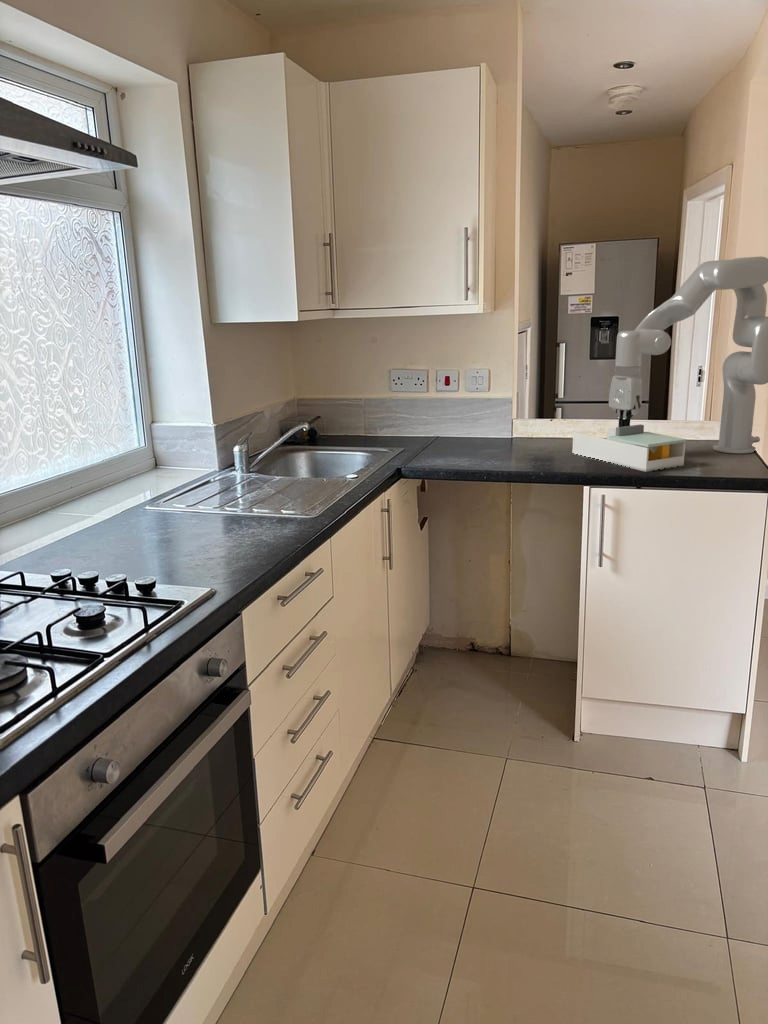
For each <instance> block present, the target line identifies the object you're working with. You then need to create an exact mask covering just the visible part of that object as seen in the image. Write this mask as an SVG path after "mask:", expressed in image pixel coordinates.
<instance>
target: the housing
mask: <svg viewBox="0 0 768 1024" xmlns="http://www.w3.org/2000/svg"><path fill="white" fill-rule="evenodd" d="M609 436H616V428H611V427H607V435H606V438H604V437H600V436H599V437H598V436H594V435H590V434H584V433H581V432H580V433H579V432H575V431H573V432H572V450H571V451H572V453H574V454H573V455H576V454H578V455H577V456H580V455H582V456H581V457H584V456H586V457H585V458H588V457H591V458H590V459H592V458H595V459H594V460H596V459H599V460H598V461H600V460H603V461H602V462H604V461H606V462H605V463H608V462H611V463H610V464H613V463H614V464H613V465H617V464H618V465H617V466H621V465H622V466H621V467H625V466H626V467H625V468H629V467H630V468H629V469H634V470H637V471H641V472H645V473H647V472H653V470H654V471H659V470H658V469H660V470H665V469H664V468H666V469H672V468H671V467H673V468H678V467H677V466H679V467H684V465H685V454H686V442H682V443H675V444H670V448H669V458H664V459H657V460H650V461H648V455H649V449H650V451H651V452H653V453H654V452H655V451H656V450H657V447H658V446H653V447H648V448H647V447H642V446H638V445H635V444H631V443H626V442H621V441H616V440H612V439H609ZM572 453H571V454H572Z"/></svg>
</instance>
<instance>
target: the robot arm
mask: <svg viewBox="0 0 768 1024" xmlns="http://www.w3.org/2000/svg"><path fill="white" fill-rule="evenodd" d="M767 283H768V258H767V257H765V256H761V255H760V256H750V257H749V256H748V257H738V258H737V257H736V258H734V259H720V260H719V259H718V260H708V261H705V262H702V263H701V264H700V265H698V267H696V268H695V270H694V271H692V273H691V274H690V276H688V278H687V279H686V280H685V281H684V282H683V283H682V284H681V286H680V287H679V289H678V290H677V291H675V293H674V294H673V295H672V296H671V297H670V298H669V299H667V300H665V301H664V302H663V303H662V304H660V305H659V306H658V307H656V308H655V309H653V310H652V311H651V312H650V313H648V314H647V315H646V316H645V317H644V318H643V319H642V321H640V323H639V324H638V326H637V327H636V328H635V329H634V330H621V331H619V332H618V333H617V336H616V345H615V346H616V347H615V362H614V363H615V364H614V365H615V367H614V375H613V376H612V378H611V383H610V386H609V393H608V406H609V408H611V411H613V412H614V413H616V416H617V419H618V427H624V426H631V420H632V419H633V416H635V415H639V414H640V409H641V408H642V402H643V401H642V400H643V398H642V397H643V386H642V385H643V384H642V378H641V370H642V358H643V357H642V355H651V356H658V355H663V354H665V353H666V352H667V351H668V350H669V349H670V348H671V347H670V346H671V344H672V339H671V336H670V335H669V333H668V332H666V331H665V330H666V329H667V328H669V327H670V326H672V325H674V324H676V323H679V322H681V321H685V320H686V319H689V318H690V317H692V316H694V315H695V314H696V313H697V311H699V309H700V308H701V307H702V306H703V304H704V303H705V302H706V301H707V300H708V299H709V297H710V296H711V295H712V294H713V293H714V292H715V291H716V290H717V291H719V290H720V291H722V290H723V291H724V290H725V291H726V290H733V292H734V294H735V297H736V307H735V308H736V309H735V315H734V316H735V317H734V323H733V329H732V340H733V343H734V344H736V345H737V346H740V347H743V348H751V351H744V350H743V351H742V350H741V351H740V350H739V351H734V352H732V353H730V354H728V355H727V356H726V358H725V360H723V364H722V379H723V380H722V381H723V395H722V396H723V397H722V405H721V406H722V407H721V414H720V415H721V417H720V426H719V438H718V443H716V444H714V445H713V446H712V448H713V450H714V451H716V452H720V453H725V454H726V453H728V454H752V453H754V451H755V452H756V447H755V446H753V444H754V443H759V442H760V441H761V438H760V437H759V436H754V435H753V425H754V415H755V408H756V406H755V405H756V398H757V396H756V393H757V392H756V388H755V385H756V386H757V385H767V384H768V316H766V314H767V313H766V312H767V303H768V296H767V290H766V288H765V285H766V284H767Z"/></svg>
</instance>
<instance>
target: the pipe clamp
mask: <svg viewBox="0 0 768 1024" xmlns="http://www.w3.org/2000/svg"><path fill="white" fill-rule="evenodd" d="M638 446H640V445H638ZM642 447H645V446H642ZM647 448H648V447H647ZM669 448H670V444H668V445H661V446H658V447H657V450H656V451H655V452H654V453H653V452H651V451H650V449H649V455H648V461H650V460H657V459H664V458H669Z"/></svg>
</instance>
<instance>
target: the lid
mask: <svg viewBox="0 0 768 1024" xmlns="http://www.w3.org/2000/svg"><path fill="white" fill-rule="evenodd" d="M615 429H616V436H609V439H612V440H616V441H621V442H626V443H631V444H635V445H640V446H645V447H653V446H661V445H668V444H675V443H682V442H684V443H686V442H687V438H682V437H676V436H671V435H667V434H660V433H656V432H655V433H654V432H649V431H644V430H645V425H644V424H634V425H630V426H624V427H617V426H616V427H615Z"/></svg>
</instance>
